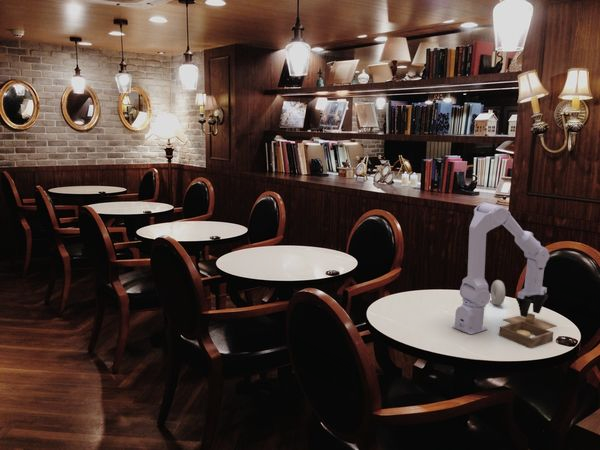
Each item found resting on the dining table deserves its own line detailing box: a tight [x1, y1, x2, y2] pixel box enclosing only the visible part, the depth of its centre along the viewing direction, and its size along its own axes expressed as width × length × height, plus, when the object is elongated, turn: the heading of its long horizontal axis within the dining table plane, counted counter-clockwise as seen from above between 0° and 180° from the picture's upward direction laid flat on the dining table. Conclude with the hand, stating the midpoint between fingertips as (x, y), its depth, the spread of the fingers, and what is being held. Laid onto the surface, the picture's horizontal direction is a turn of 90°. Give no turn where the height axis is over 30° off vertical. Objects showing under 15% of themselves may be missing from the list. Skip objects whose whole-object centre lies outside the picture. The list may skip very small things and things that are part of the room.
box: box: [498, 321, 554, 349], centre depth 178 cm, size 12×12×3 cm
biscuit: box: [516, 330, 531, 337], centre depth 182 cm, size 4×4×1 cm
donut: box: [490, 279, 506, 306], centre depth 211 cm, size 10×4×10 cm, turn 177°
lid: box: [502, 312, 557, 330], centre depth 192 cm, size 13×13×4 cm
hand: (529, 314), depth 192 cm, fingers open, 7 cm apart
